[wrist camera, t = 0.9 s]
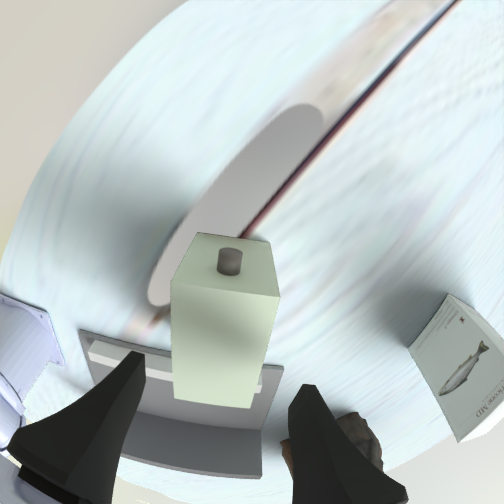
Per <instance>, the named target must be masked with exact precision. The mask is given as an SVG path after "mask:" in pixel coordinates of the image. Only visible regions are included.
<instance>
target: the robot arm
mask: <svg viewBox="0 0 504 504" xmlns="http://www.w3.org/2000/svg"><path fill="white" fill-rule="evenodd" d="M49 361H50V362H53V363H55V364H58V365H60V366H64V365H65V361H64V359H63V356H62V354H61V351H60V348H59V346H58V343H57V340H56V337H55V334H54V331H53V328H52V325H51V321H50V318H49V315H48V314H47V313H46V312H45V311H42V310H39V309H36V308H34V307H31V306H28V305H26V304H23V303H21V302H18V301H16V300H13V299H11V298H9V297H6V296H4V295H2V294H0V503H1V504H111V503H112V495H113V488H114V482H115V477H116V472H117V467H118V463H119V458H120V454H121V450H122V446H123V443H124V440H125V437H126V434H127V432H128V429H129V427H130V425H131V422H132V420H133V417H134V415H135V413H136V410H137V408H138V405H139V403H140V401H141V398H142V394H143V391H144V387H145V384H146V369H145V354H143V353H139V352H136V351H133V350H132V351H130V352H129V353H128V355H127V356H126V357H125V358H124V359H123V360H122V361H121V362H120V363H119V364H118V365H117V366H116V367H115V368H114V369H113V370H112V371H111V372H110V373H109V374H108V375H107V376H106V377H105V378H104V379H103V380H102V381H101V382H99V383H98V384H97V385H96V386H95V387H94V388H92V389H91V390H90V391H89V392H87V393H86V394H85V395H84V396H82V397H81V398H79V399H78V400H77V401H75V402H74V403H72V404H71V405H69V406H67V407H66V408H64V409H62V410H61V411H59V412H57V413H55V414H53V415H51V416H49V417H47V418H44V419H42V420H40V421H38V422H35V423H32V424H29V425H26V419H25V416H24V415H23V413H24V411H25V409H26V408H25V407H24V405H23V404H22V402H23V400H24V399H25V397H26V395H27V394H28V392H29V391H30V389H31V387H32V386H33V384H34V383H35V381H36V380H37V378H38V377H39V375H40V374H41V372H42V371H43V369H44V368H45V366H46V365H47V363H48V362H49ZM288 429H289V437H290V445H291V453H292V461H293V500H292V504H406V503H407V502H408V500H409V499H408V496H407V492H406V489H405V487H404V486H403V485H401V484H400V483H398V482H396V481H395V480H393V479H392V478H390V477H389V476H387V475H386V474H384V473H383V472H382V471H380V470H379V469H378V468H377V467H376V466H375V465H373V464H372V463H371V462H370V461H369V460H368V459H367V458H366V457H365V456H364V455H363V454H362V453H361V452H360V451H359V450H358V449H357V448H356V447H355V445H354V444H353V443H352V442H351V441H350V439H349V438H348V437H347V435H346V434H345V433H344V431H343V430H342V428H341V427H340V426H339V424H338V422H337V421H336V419H335V418H334V416H333V415H332V413H331V411H330V410H329V408H328V406H327V405H326V403H325V401H324V400H323V398H322V396H321V394H320V393H319V391H318V389H317V387H316V386H315V385H309V384H303V385H302V386H301V388H300V390H299V391H298V393H297V395H296V396H295V398H294V400H293V401H292V403H291V404H290V406H289V408H288ZM10 454H11V455H12V456H13V457H14V458H15V459H16V460H17V461H19V462H20V463H21V464H22V466H21V468H19V467H18V466H16V465H15V464H14V463H12V462H11V461H10V460H8V459H7V457H8V456H9V455H10Z"/></svg>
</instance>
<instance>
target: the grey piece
mask: <svg viewBox="0 0 504 504" xmlns="http://www.w3.org/2000/svg"><path fill="white" fill-rule="evenodd" d="M78 333H79V337H80V341H81V344H82V347H83V351H84V354H85V357H86V360H87V363H88V366H89V369H90V372H91V375H92V377H93V380H94V383H95V385H97V384H98V383H99V382H101V381H102V380H103V379H104V378H105V377H106V376H107V375H108V374H109V373H110V372H111V371H112V370H113V369H114V368H115V367H116V366H117V365H118V364H119V363H120V362H121V361H122V360H123V359H124V358H125V357H126V356H127V355H128V353H129V352H130V351H132V350H133V351H136V352H139V353H143V354H145V369H146V384H145V387H144V391H143V394H142V398H141V401H140V403H139V405H138V408H137V410H136V413H135V415H134V417H133V420H132V422H131V425H130V427H129V429H128V432H127V434H126V437H125V440H124V443H123V446H122V450H121V454H120V456H121V457H124V458H128V459H131V460H134V461H138V462H142V463H145V464H149V465H153V466H158V467H162V468H166V469H171V470H176V471H182V472H187V473H194V474H200V475H208V476H216V477H227V478H240V479H260V478H261V477H262V454H261V428H262V426H263V423H264V421H265V418H266V416H267V414H268V411H269V408H270V406H271V403H272V401H273V398H274V396H275V393H276V390H277V388H278V385H279V382H280V380H281V377H282V374H283V371H284V367H283V366H270V365H262V369H261V372H260V376H259V379H258V383H257V386H256V390H255V393H254V397H253V400H252V403H251V407H250V409H249V408H238V407H228V406H220V405H212V404H205V403H199V402H192V401H187V400H181V399H176V398H174V388H173V373H172V352H168V351H163V350H158V349H153V348H149V347H144V346H140V345H136V344H131V343H127V342H123V341H119V340H115V339H112V338H108V337H104V336H101V335H97V334H94V333H90V332H87V331H84V330H81V329H80V331H79V332H78Z"/></svg>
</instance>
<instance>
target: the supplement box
mask: <svg viewBox="0 0 504 504" xmlns="http://www.w3.org/2000/svg"><path fill="white" fill-rule="evenodd" d="M408 351H409V353H410V355H411V356H412V358H413V360H414V361H415V363H416V364H417V366H418V368H419V370H420V371H421V373H422V375H423V377H424V378H425V380H426V382H427V383H428V385H429V387H430V389H431V391H432V392H433V394H434V396H435V398H436V400H437V402H438V403H439V405H440V407H441V409H442V411H443V413H444V415H445V417H446V419H447V421H448V423H449V425H450V427H451V429H452V431H453V433H454V436H455V438H456V440H457V442H458V443H460V442H464V441H467V440H470V439H473V438H476V437H479V436H481V435H484V434H486V433H487V432H488V431H489V430H490V429H491V428H493V427H494V426H495V425H496V424H497V423H498V422H499V421H500V420H501V419H502V418H503V417H504V339H503V338H502V337H501V336H500V335H499V334H498V333H497V332H496V330H495V329H494V328H493V327H492V326H491V325H490V324H489V323H488V322H487V321H486V320H485V319H484V318H483V317H482V316H481V315H480V314H479V313H478V312H477V311H476V310H475V309H473V308H471V307H470V306H468V305H467V304H465V303H463V302H462V301H460V300H459V299H457V298H455V297H454V296H452V295H450V294H448V295H447V297H446V299H445V300H444V302H443V304H442V305H441V307H440V308H439V310H438V311H437V312H436V314H435V315H434V317H433V318H432V320H431V321H430V322H429V323H428V325H427V326H426V327H425V329H424V330H423V331H422V332H421V334H420V335H419V336H418V338H417V339H416V340H415V341H414V342H413V343H412V344H411V345H410V347H409V348H408Z"/></svg>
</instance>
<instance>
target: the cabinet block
mask: <svg viewBox="0 0 504 504" xmlns="http://www.w3.org/2000/svg"><path fill="white" fill-rule="evenodd" d="M279 301H280V293H279V287H278V282H277V277H276V271H275V266H274V261H273V255H272V250H271V245H270V243H268V242H261V241H254V240H247V239H241V238H236V237H229V236H223V235H215V234H209V233H201V232H197V234H196V236H195V238H194V239H193V241H192V243H191V245H190V247H189V248H188V250H187V252H186V254H185V256H184V258H183V260H182V261H181V263H180V265H179V267H178V269H177V271H176V273H175V275H174V277H173V279H172V280H171V352H172V373H173V388H174V398H176V399H181V400H187V401H192V402H199V403H205V404H212V405H220V406H228V407H238V408H249V409H250V407H251V403H252V400H253V397H254V393H255V390H256V386H257V383H258V379H259V376H260V372H261V369H262V365H263V362H264V358H265V354H266V351H267V347H268V343H269V339H270V336H271V332H272V328H273V324H274V320H275V317H276V313H277V309H278V305H279Z"/></svg>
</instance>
